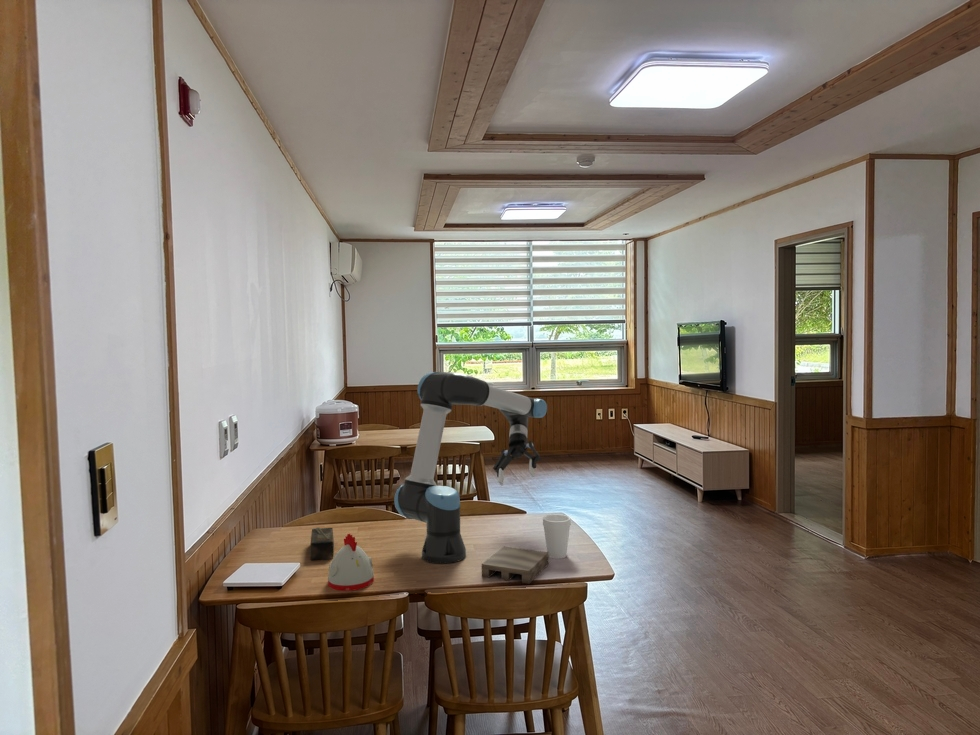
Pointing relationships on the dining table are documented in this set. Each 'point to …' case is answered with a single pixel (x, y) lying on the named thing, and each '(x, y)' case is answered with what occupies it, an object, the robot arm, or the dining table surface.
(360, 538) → the dining table surface
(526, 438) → the robot arm
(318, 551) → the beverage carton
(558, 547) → the foam cup
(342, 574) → the kitchen timer
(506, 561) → the miniature wooden pallet
